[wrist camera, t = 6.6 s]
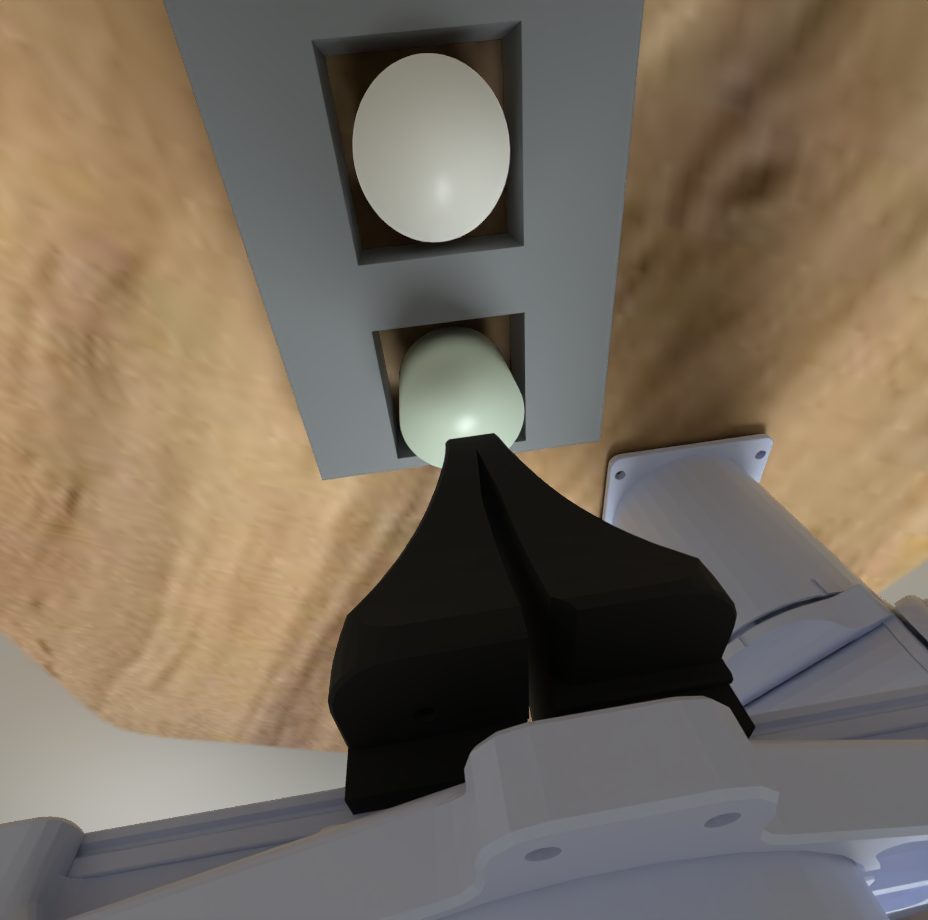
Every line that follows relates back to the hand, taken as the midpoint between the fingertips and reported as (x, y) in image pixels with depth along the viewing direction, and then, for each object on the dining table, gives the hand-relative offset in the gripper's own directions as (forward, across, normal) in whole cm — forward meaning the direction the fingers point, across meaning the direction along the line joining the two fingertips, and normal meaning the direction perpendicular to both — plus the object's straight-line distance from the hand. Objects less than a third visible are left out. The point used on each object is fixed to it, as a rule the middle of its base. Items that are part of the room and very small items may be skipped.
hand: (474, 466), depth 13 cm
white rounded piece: (+7, 0, -7) cm, 10 cm away
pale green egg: (+6, 0, 0) cm, 6 cm away
